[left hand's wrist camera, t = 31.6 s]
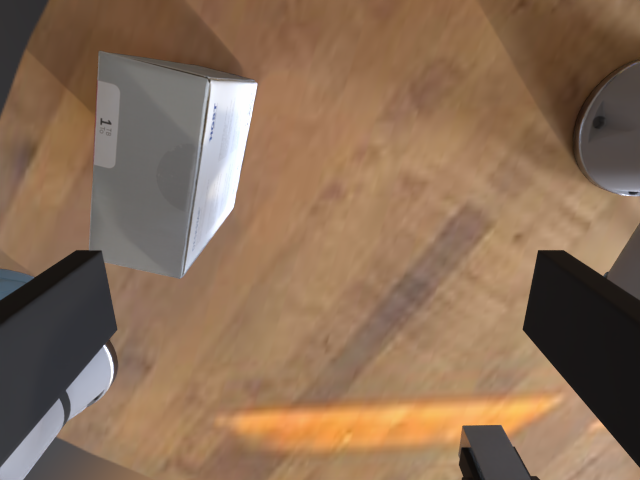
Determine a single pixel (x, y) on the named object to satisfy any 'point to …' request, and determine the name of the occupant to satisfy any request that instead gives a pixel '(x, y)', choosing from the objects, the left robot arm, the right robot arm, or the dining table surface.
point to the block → (492, 453)
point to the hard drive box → (164, 159)
